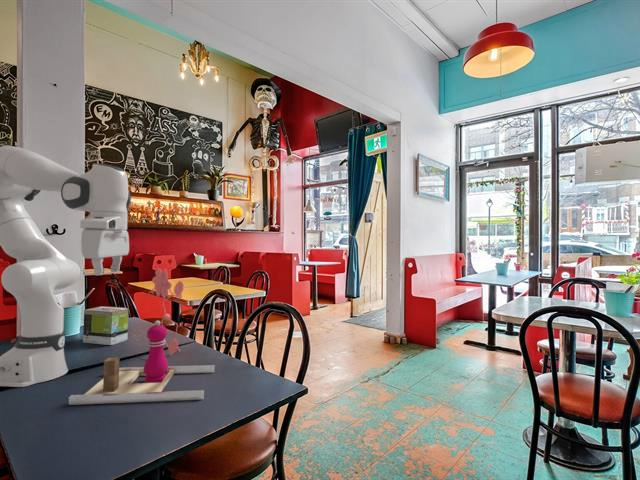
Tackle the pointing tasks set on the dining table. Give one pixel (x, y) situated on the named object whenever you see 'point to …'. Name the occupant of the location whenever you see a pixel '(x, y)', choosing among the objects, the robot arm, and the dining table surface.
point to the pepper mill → (156, 354)
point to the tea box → (105, 325)
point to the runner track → (146, 395)
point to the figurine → (161, 288)
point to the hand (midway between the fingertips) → (107, 273)
